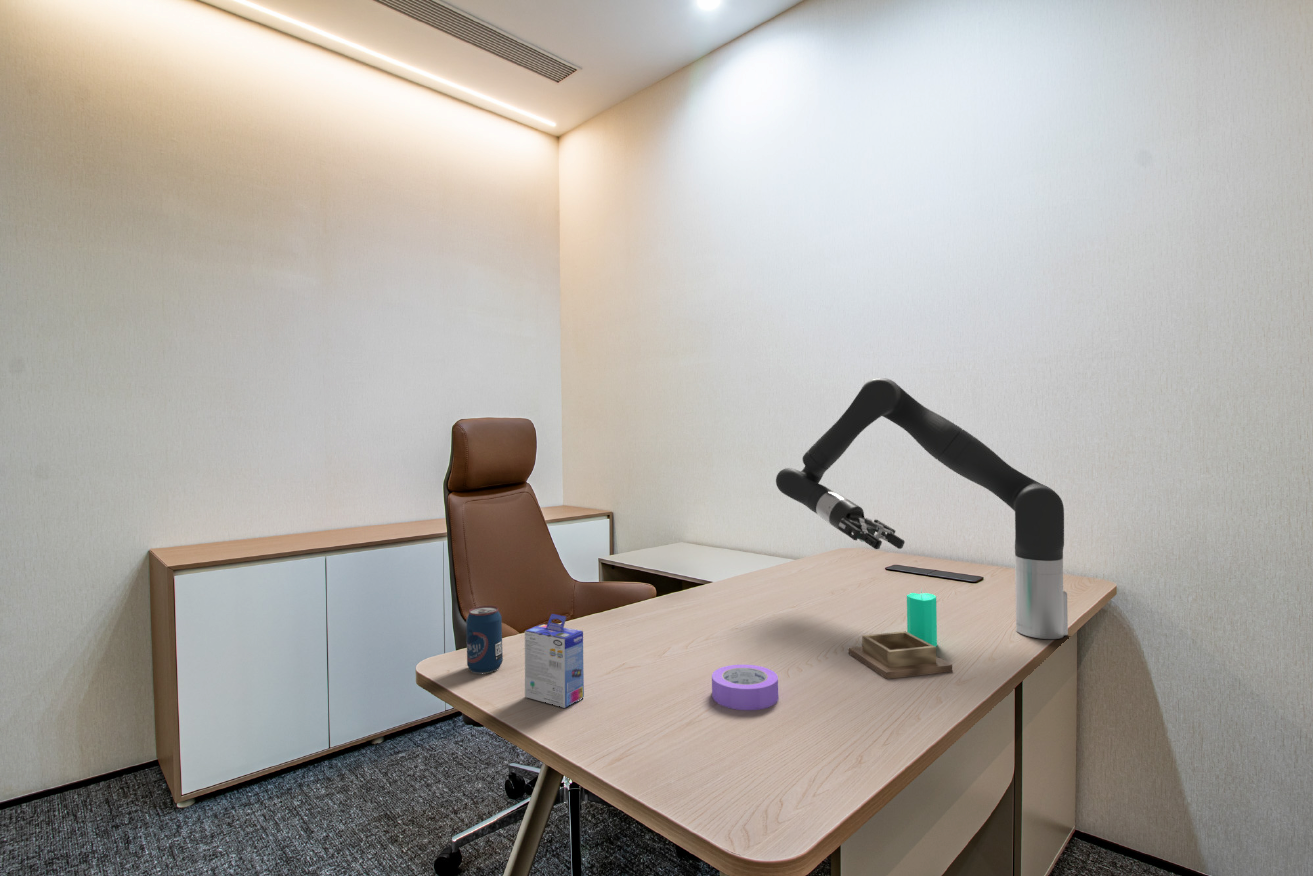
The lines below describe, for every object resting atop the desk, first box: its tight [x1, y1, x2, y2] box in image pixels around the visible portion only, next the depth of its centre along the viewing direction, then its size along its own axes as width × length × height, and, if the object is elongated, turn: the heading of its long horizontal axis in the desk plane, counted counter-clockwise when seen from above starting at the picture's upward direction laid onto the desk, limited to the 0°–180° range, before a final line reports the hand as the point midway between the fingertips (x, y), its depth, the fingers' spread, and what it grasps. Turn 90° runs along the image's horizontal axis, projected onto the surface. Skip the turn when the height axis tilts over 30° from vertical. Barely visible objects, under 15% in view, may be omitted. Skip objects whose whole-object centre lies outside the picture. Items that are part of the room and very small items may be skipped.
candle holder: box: [848, 630, 953, 680], centre depth 127 cm, size 14×14×4 cm
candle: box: [906, 588, 938, 648], centre depth 137 cm, size 6×6×12 cm
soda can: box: [465, 605, 504, 675], centre depth 128 cm, size 7×7×12 cm
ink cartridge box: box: [524, 613, 585, 709], centre depth 114 cm, size 10×6×14 cm, turn 58°
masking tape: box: [711, 664, 779, 711], centre depth 113 cm, size 12×12×4 cm
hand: (891, 545), depth 144 cm, fingers open, 8 cm apart
